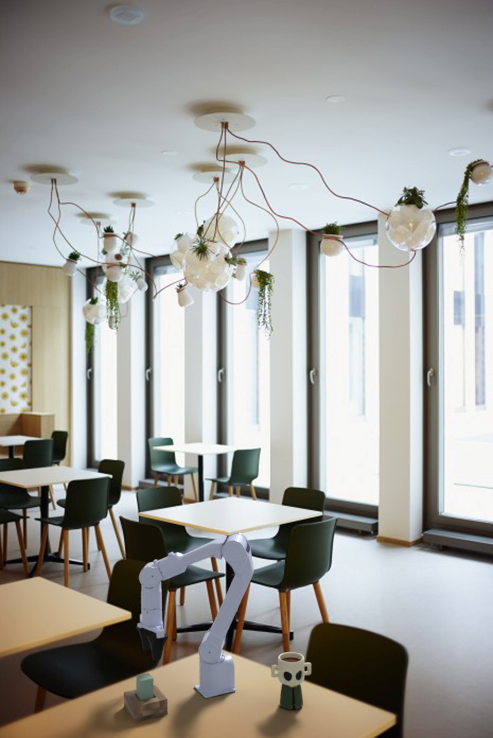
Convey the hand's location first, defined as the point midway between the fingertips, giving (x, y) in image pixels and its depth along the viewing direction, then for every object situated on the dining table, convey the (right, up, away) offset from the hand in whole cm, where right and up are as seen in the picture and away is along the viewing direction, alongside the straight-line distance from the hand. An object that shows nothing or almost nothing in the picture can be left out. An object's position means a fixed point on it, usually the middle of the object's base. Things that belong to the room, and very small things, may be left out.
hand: (152, 654), depth 205 cm
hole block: (0, -10, -13) cm, 16 cm away
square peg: (0, -9, -13) cm, 16 cm away
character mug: (+39, -10, -11) cm, 41 cm away
